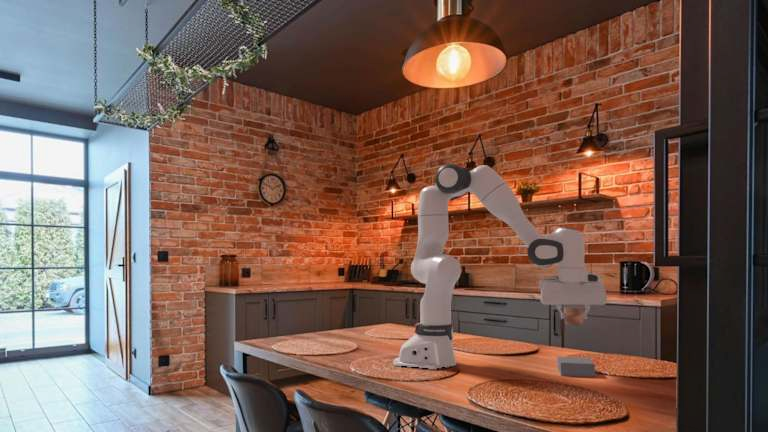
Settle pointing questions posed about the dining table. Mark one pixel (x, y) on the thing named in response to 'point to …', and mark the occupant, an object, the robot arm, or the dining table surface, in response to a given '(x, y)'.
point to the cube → (573, 316)
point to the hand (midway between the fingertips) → (573, 318)
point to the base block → (576, 366)
